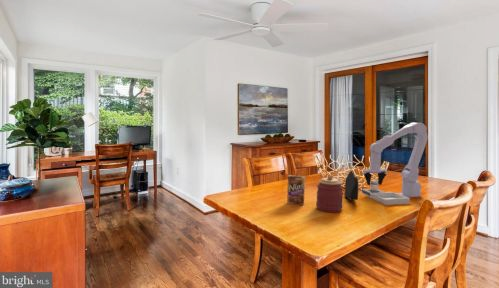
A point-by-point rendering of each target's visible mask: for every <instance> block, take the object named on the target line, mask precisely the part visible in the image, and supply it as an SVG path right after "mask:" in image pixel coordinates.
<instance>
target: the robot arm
mask: <svg viewBox="0 0 499 288" xmlns="http://www.w3.org/2000/svg"><path fill="white" fill-rule="evenodd" d="M427 130H428V127H427V126H426V125H425V124H424V123H423V122H410V123H408V124H406V125H404V126H403V127H402V128H400V129H399V130H397V131H395V132H394V133H393V134H391V135H384V136H382V138H381V139H379V140H376V141H375V142H373V143H372V144H371V145H370V146H369V150H370V160H369V169H362V173H363V175H364V177H365V182H366V185H367V186H371V180H372V176H373V175H372V174H377V179H378V180H377V181H378V186H382V183H383V182H384V179H385V177H386V176H387V169H382V168H381V163H382V162H381V161H382V159H381V157H382V152H383V150H385V149H386V148H387V147H390V146H391V145H393V144H394V142H395V140H397V139H399V138H401V137H403V136H404V135H406V134H411V135H413V136H414V138H415V139H416V140H415V143H414V146H413V147H412V152H411V155H410V157H409V160H408V161H407V162H408V163H407V164H406V165H405V166H404V168H403V170H402V171H401V172H400V173H401V174H400V175H401V177H402V185H401V192H398V193H397V194H400V195H403V196H405V197H408V198H414V197H415V198H421V197H422V195H421V189H422V185H421V183H420V182H419V181H418V180H419V178H420V177H419V173H420V169H419V164H420V162H421V159H422V157H423V153H424V151H425V147H426V145H427V142H428V138H429V137H428V133H427V132H428V131H427Z"/></svg>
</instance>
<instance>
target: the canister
mask: <svg viewBox="0 0 499 288" xmlns="http://www.w3.org/2000/svg"><path fill="white" fill-rule="evenodd" d="M342 183H343V181H341V180H339V178H335V177H333V175H332V174H329V175H327V177H323V178H322V177H321V179H319V180H318V183H317V184H316V187H317V190H316V203H315V206H316V209H318V211H321V212H325V213H340V212H341V211H342V210H343V207H344V206H343V198H344V197H343V194H344V192H343V189H344V185H342Z"/></svg>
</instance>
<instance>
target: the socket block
mask: <svg viewBox="0 0 499 288" xmlns="http://www.w3.org/2000/svg"><path fill="white" fill-rule="evenodd" d="M370 190H371V188H363V189H361V191H360V190H358V193H360V194H362V195H365V196H367V197H369V198H370V193H383V192H384V191H383V190H380V189H378V192H371V191H370Z"/></svg>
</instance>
